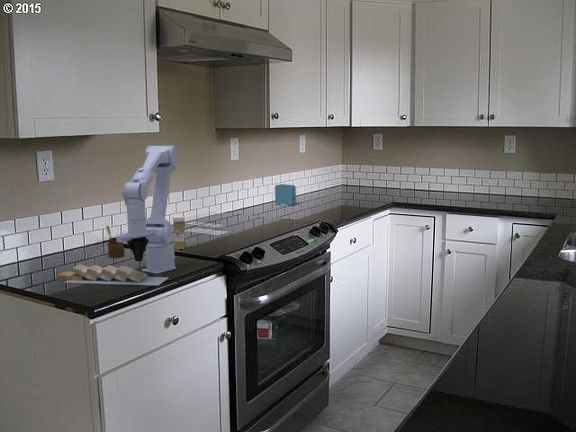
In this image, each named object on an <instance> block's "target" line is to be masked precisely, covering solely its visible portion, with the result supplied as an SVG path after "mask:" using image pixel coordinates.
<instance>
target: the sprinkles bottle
mask: <svg viewBox="0 0 576 432" xmlns="http://www.w3.org/2000/svg"><path fill="white" fill-rule="evenodd" d="M172 222H173V245H174V247H173V249H174V250H175V249H178V250H177V251H180V250H179V249H183V250H185V249H186V237H185V235H186V233H185V216H184V215H174V216H172Z"/></svg>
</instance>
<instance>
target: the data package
mask: <svg viewBox="0 0 576 432" xmlns="http://www.w3.org/2000/svg"><path fill="white" fill-rule="evenodd" d="M296 189H297V188H296V185H295V184H283V183H280V184H276V185H275V186H274V204H275V205H276V204H286V205H292V206H295V205H296V203H297V196H296V193H297V190H296ZM294 204H295V205H294Z"/></svg>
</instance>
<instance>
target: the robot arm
mask: <svg viewBox="0 0 576 432" xmlns="http://www.w3.org/2000/svg"><path fill="white" fill-rule="evenodd" d="M144 154H145V156H144V157H145V161H144V163H143V166H142V167H138V169H137V170H136V172H135V173H134V174H133V177H132V178H131V179H130V181H128V182H126V183H124V185H123V187H122V193H121V194H122V198H123V199H124V204H125V206H126V218H127V233H122V234H121V235H120V234H118V235H117V236H116V235H115V237H116V239H117V242H119V243H122V242H123V243H125V242H126V243H127V245H128V246H129V248H130V250H131V252H132V254H133V258H134V261H135V262H143V258H144V255H145V258H146V268H143V269H141V271H140V272H147V273H152V274H160V273H163V272H168V271H171V270H174V269H177V267H176V266H175V249H174V247H173V246H172V244H170V243H171V242H172V240H173V239H172V238H173V231H172V227H173V225H172V224H171V222H170V221H168V219H166V213H167V207H168V206H167V205H168V197H169V192H170V191H169V190H170V183H171V179H172V178H171V177H172V173H173V172H175V171H176V168H177V163H178V152H177V147H175V146H174V144H173V145H148V146H147V147H146V149H145V151H144ZM153 173H155V175H156V177H155V183H154V191H153V198H152V206H151V212H150V216H149V217H148V218H146V215H147V214H146V199H147V198H148V195H149V193H148V192H149V189H150V187H149V186H150V184H151V183H152V181H153V178H154V174H153Z"/></svg>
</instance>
